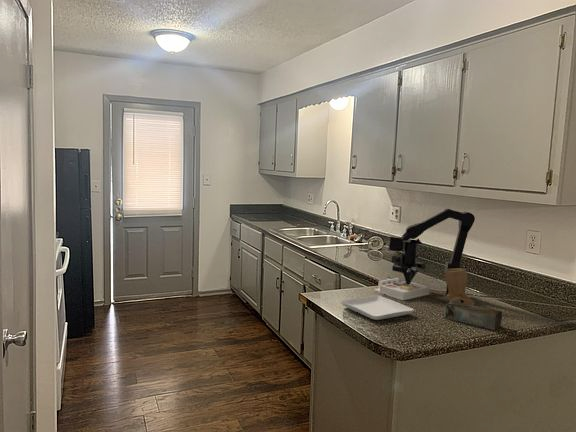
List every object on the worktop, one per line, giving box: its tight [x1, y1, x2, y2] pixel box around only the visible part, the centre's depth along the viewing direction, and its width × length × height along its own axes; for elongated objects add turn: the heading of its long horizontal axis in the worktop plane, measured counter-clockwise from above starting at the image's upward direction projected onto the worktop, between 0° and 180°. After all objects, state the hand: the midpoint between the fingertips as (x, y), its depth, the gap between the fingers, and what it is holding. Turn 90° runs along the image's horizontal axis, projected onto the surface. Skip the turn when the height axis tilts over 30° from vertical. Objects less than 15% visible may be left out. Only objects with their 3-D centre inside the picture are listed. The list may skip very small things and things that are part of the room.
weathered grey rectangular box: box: [444, 301, 503, 331], centre depth 176 cm, size 8×19×7 cm, turn 51°
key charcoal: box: [393, 280, 407, 286], centre depth 214 cm, size 4×4×2 cm
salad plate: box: [340, 294, 415, 321], centre depth 182 cm, size 21×21×3 cm
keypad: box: [373, 277, 431, 301], centre depth 214 cm, size 16×20×4 cm
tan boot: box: [443, 268, 475, 306], centre depth 202 cm, size 15×12×15 cm
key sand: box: [400, 285, 414, 291], centre depth 208 cm, size 4×4×2 cm
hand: (407, 284), depth 218 cm, fingers closed, pressing on key sage
